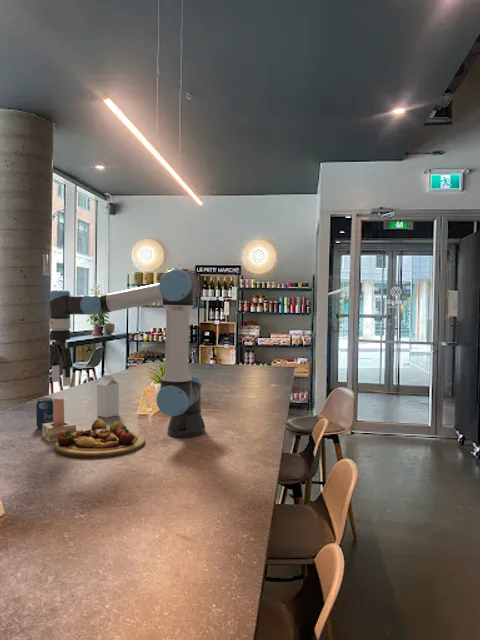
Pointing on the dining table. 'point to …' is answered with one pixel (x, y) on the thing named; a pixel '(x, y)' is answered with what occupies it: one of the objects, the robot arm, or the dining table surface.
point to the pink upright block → (58, 412)
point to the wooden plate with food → (99, 441)
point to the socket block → (56, 430)
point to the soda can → (44, 412)
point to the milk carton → (107, 397)
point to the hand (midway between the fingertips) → (61, 383)
